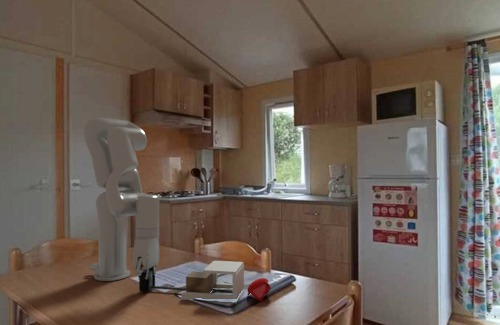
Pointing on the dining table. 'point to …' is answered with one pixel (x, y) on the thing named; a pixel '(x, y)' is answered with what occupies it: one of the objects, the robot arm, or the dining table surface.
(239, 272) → the lever switch box
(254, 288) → the cap
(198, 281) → the knobbed lever joystick
